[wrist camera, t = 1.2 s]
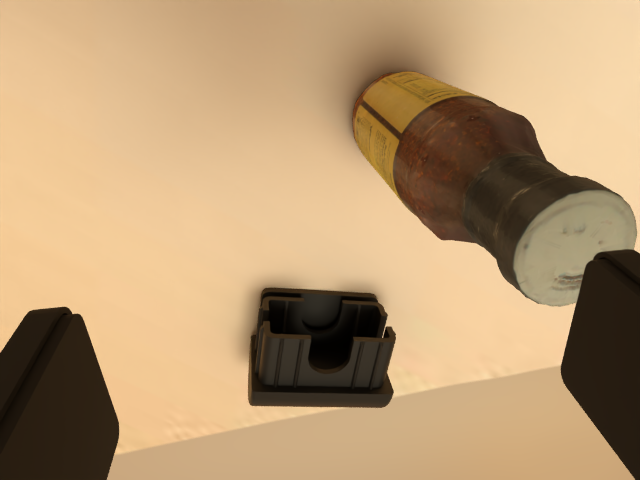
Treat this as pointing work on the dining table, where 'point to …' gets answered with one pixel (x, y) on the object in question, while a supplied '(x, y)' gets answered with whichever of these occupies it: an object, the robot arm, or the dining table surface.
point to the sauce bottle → (488, 183)
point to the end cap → (320, 350)
